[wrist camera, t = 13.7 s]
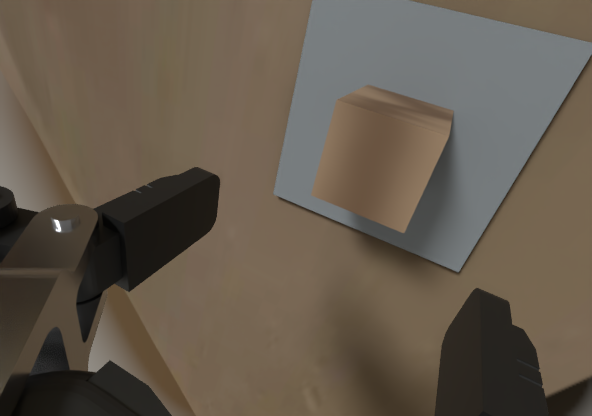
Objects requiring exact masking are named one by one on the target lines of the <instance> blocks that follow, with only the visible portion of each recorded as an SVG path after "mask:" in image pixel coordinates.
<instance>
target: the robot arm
mask: <svg viewBox="0 0 592 416" xmlns="http://www.w3.org/2000/svg"><path fill="white" fill-rule="evenodd" d="M219 188H220V179H219V177H218V176H217V175H215V174H213V173H210V172H208V171H206V170H203V169H201V168H199V167H194V168H192V169H190V170H188V171H186V172H184V173H181V174H179V175H174V176H168V177H163V178H159V179H157V180H155V181H153V182H151V183H149V184H147V186H145V185H144V186H142V187H140V188H138V189H136V191H131V192H129V193H127V194H125V195H123V196H120V197H118V198H116V199H114V200H112V201H109V202H107V203H105V204H103V205H101V206H99V207H96V208H94V209H92V208H90V207H87V206H84V205H78V204H65V205H58V206H53V207H50V208H47V209H45V210H43V211H41V212H34V211H30V210H26V209H21V208H17V206H16V202H15V198H14V195H13V192H12V191H11V190H9V189H7V188H4V187H1V186H0V416H172V415H171V414H170V413H169V412H168V410H167V409H166V408H165V406H164V405H163V404H162V402H161V401H160V400H159V399H158V397H157V396H156V395H155V393H154V392H153V391H152V390H151V388H150V387H149V386H148V385H146V384H145V383H143V382H142V381H140V380H139V379H137V378H136V377H134V376H133V375H131V374H130V373H128V372H127V371H125V370H124V369H122V368H121V367H119V366H118V365H116V364H115V363H113V362H112V361H109V362H108V363H107V364H105V365H104V366H103V367H102V368H101V369H100V370H99V371H97V372H96V373H95V372H88V360H89V354H90V350H91V347H92V344H93V340H94V337H95V334H96V331H97V327H98V324H99V321H100V318H101V315H102V311H103V308H104V305H105V301H106V298H107V288H109V287H110V286H111V285H113V284H116V285H118V286H120V287H121V288H123V289H125V290H126V291H128V292H130V291H131V290H132V289H134V288H135V287H136V286H138V285H139V284H140V283H142V282H143V281H144V280H146V279H147V278H148V277H150V276H151V275H152V274H154V273H155V272H156V271H158V270H159V269H160V268H162V267H163V266H164V265H166V264H167V263H168V262H170V261H171V260H172V259H174V258H175V257H176V256H178V255H179V254H180V253H182V252H183V251H184V250H186V249H187V248H188V247H190V246H191V245H192V244H194V243H195V242H196V241H198V240H199V239H200V238H202V237H203V236H204V235H206V234H207V233H208V232H209V231H210V230H211V229H212V227H213V225H214V223H215V221H216V217H217V208H218V198H219ZM539 369H540V368H539V363H538V358H537V353H536V349H535V347H534V346H533V344H532V342H531V341H530V339H529V338H528V336H527V334H526V333H525V331H524V330H523V329H521V328H519V327H517V326H514V325H512V319H511V311H510V305H509V302H508V301H507V300H504V299H502V298H500V297H497V296H495V295H493V294H490V293H488V292H486V291H483V290H481V289H479V288H476V289H475V290H473V292H472V293H471V294H470V296H469V297H468V299H467V300H466V302H465V303H464V305H463V306H462V308H461V309H460V311H459V312H458V314H457V315H456V317H455V318H454V320H453V321H452V323H451V325H450V326H449V328H448V330H447V332H446V334H445V337H444V340H443V343H442V349H441V358H440V368H439V378H438V388H437V398H436V408H435V416H549V414H548V408H547V403H546V398H545V393H544V389H543V388H542V385H543V383H542V378H541V373H540V372H539Z"/></svg>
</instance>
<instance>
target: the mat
mask: <svg viewBox="0 0 592 416" xmlns="http://www.w3.org/2000/svg"><path fill="white" fill-rule="evenodd" d="M591 55H592V43H590V42H586V41H582V40H577V39H573V38H569V37H564V36H560V35H556V34H552V33H547V32H543V31H539V30H534V29H530V28H526V27H521V26H517V25H513V24H509V23H504V22H500V21H496V20H491V19H487V18H483V17H478V16H474V15H470V14H466V13H461V12H457V11H453V10H448V9H444V8H440V7H435V6H431V5H427V4H423V3H418V2H414V1H410V0H313V1H312V5H311V10H310V15H309V20H308V25H307V30H306V35H305V40H304V45H303V50H302V55H301V60H300V65H299V70H298V74H297V79H296V84H295V89H294V94H293V99H292V104H291V109H290V114H289V119H288V124H287V129H286V134H285V139H284V143H283V148H282V153H281V158H280V163H279V168H278V173H277V178H276V183H275V188H274V193H273V194H274V195H276V196H278V197H281V198H283V199H286V200H288V201H290V202H293V203H295V204H297V205H300V206H302V207H305V208H307V209H309V210H312V211H314V212H316V213H319V214H321V215H324V216H326V217H328V218H331V219H333V220H335V221H338V222H340V223H342V224H345V225H347V226H350V227H352V228H354V229H357V230H359V231H361V232H364V233H366V234H369V235H371V236H373V237H376V238H378V239H380V240H383V241H385V242H388V243H390V244H392V245H395V246H397V247H399V248H402V249H404V250H407V251H409V252H411V253H414V254H416V255H418V256H421V257H423V258H426V259H428V260H430V261H433V262H435V263H437V264H440V265H442V266H445V267H447V268H449V269H452V270H454V271H456V272H459V271H460V269H461V267H462V266H463V264H464V263H465V261H466V259H467V258H468V256H469V254H470V253H471V251H472V249H473V248H474V246H475V245H476V243H477V241H478V240H479V238H480V236H481V235H482V233H483V231H484V230H485V228H486V227H487V225H488V223H489V222H490V220H491V218H492V217H493V215H494V213H495V212H496V210H497V209H498V207H499V205H500V204H501V202H502V200H503V199H504V197H505V195H506V194H507V192H508V191H509V189H510V187H511V186H512V184H513V182H514V181H515V179H516V177H517V176H518V174H519V173H520V171H521V169H522V168H523V166H524V164H525V163H526V161H527V159H528V158H529V156H530V154H531V153H532V151H533V150H534V148H535V146H536V145H537V143H538V141H539V140H540V138H541V136H542V135H543V133H544V132H545V130H546V128H547V127H548V125H549V123H550V122H551V120H552V118H553V117H554V115H555V114H556V112H557V110H558V109H559V107H560V105H561V104H562V102H563V100H564V99H565V97H566V96H567V94H568V92H569V91H570V89H571V87H572V86H573V84H574V82H575V81H576V79H577V78H578V76H579V74H580V73H581V71H582V69H583V68H584V66H585V64H586V63H587V61H588V60H589V58H590V56H591ZM366 85H371V86H375V87H378V88H381V89H385V90H388V91H391V92H394V93H398V94H401V95H404V96H407V97H411V98H414V99H417V100H421V101H424V102H427V103H430V104H434V105H437V106H440V107H443V108H447V109H450V110H453V111H454V112H453V117H452V123H451V128H450V134H449V138H448V140H447V142H446V144H445V146H444V148H443V151H442V153H441V155H440V157H439V159H438V161H437V163H436V166H435V168H434V170H433V172H432V174H431V176H430V179H429V181H428V183H427V185H426V187H425V189H424V191H423V194H422V196H421V198H420V200H419V202H418V204H417V207H416V209H415V211H414V213H413V215H412V217H411V219H410V222H409V224H408V226H407V228H406V230H405V232H404V233H402V232H399V231H397V230H394V229H392V228H389V227H387V226H385V225H382V224H380V223H377V222H375V221H372V220H370V219H367V218H365V217H363V216H360V215H358V214H355V213H353V212H350V211H348V210H346V209H343V208H341V207H338V206H336V205H333V204H331V203H328V202H326V201H324V200H321V199H319V198H316V197H314V196H311V193H312V189H313V185H314V182H315V178H316V174H317V171H318V167H319V163H320V159H321V156H322V152H323V148H324V145H325V141H326V137H327V133H328V130H329V126H330V122H331V119H332V115H333V111H334V108H335V104H336V100H337V99H339V98H341V97H343V96H346V95H348V94H350V93H352V92H354V91H356V90H358V89H360V88H362V87H364V86H366Z"/></svg>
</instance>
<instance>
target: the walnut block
mask: <svg viewBox="0 0 592 416" xmlns="http://www.w3.org/2000/svg"><path fill="white" fill-rule="evenodd" d="M453 112H454V111H453V110H450V109H447V108H443V107H440V106H437V105H434V104H430V103H427V102H424V101H421V100H417V99H414V98H411V97H407V96H404V95H401V94H398V93H394V92H391V91H388V90H385V89H381V88H378V87H375V86H371V85H366V86H364V87H362V88H360V89H358V90H356V91H354V92H352V93H350V94H348V95H346V96H343V97H341V98H339V99H337V100H336V104H335V108H334V111H333V115H332V119H331V122H330V126H329V130H328V133H327V137H326V141H325V145H324V148H323V152H322V156H321V159H320V163H319V167H318V171H317V174H316V178H315V182H314V185H313V189H312V193H311V196H314V197H316V198H319V199H321V200H324V201H326V202H328V203H331V204H333V205H336V206H338V207H341V208H343V209H346V210H348V211H350V212H353V213H355V214H358V215H360V216H363V217H365V218H367V219H370V220H372V221H375V222H377V223H380V224H382V225H385V226H387V227H389V228H392V229H394V230H397V231H399V232H402V233H404V232H405V230H406V228H407V226H408V224H409V222H410V219H411V217H412V215H413V213H414V211H415V209H416V207H417V204H418V202H419V200H420V198H421V196H422V194H423V191H424V189H425V187H426V185H427V183H428V181H429V179H430V176H431V174H432V172H433V170H434V168H435V166H436V163H437V161H438V159H439V157H440V155H441V153H442V151H443V148H444V146H445V144H446V142H447V140H448V138H449V134H450V128H451V123H452V117H453Z"/></svg>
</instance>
